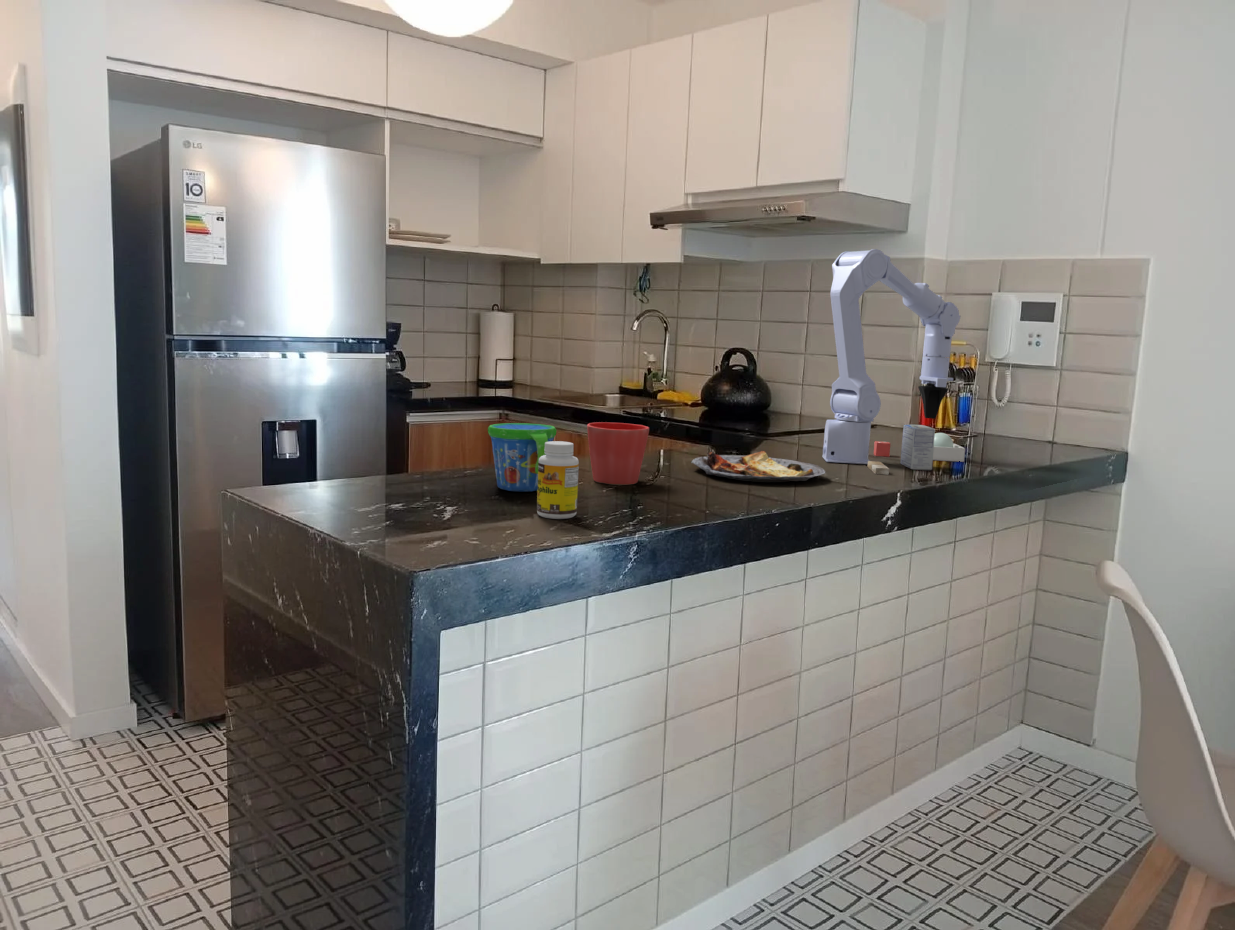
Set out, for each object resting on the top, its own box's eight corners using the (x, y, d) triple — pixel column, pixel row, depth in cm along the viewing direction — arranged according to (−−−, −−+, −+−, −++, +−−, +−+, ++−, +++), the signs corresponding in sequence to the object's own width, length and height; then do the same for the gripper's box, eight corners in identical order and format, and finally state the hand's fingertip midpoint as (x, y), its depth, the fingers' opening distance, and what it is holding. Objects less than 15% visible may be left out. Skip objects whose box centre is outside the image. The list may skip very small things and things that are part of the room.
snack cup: (474, 482, 152) (475, 420, 151) (534, 479, 157) (535, 420, 156) (505, 499, 139) (507, 432, 137) (570, 496, 143) (572, 431, 142)
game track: (875, 473, 181) (876, 467, 181) (867, 466, 191) (867, 461, 190) (888, 474, 181) (889, 468, 181) (879, 467, 190) (880, 461, 190)
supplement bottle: (528, 514, 128) (530, 441, 127) (558, 510, 132) (560, 439, 131) (554, 521, 124) (557, 446, 123) (585, 517, 128) (587, 444, 127)
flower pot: (659, 482, 160) (662, 427, 158) (616, 489, 152) (619, 430, 150) (615, 474, 167) (617, 420, 165) (571, 479, 159) (573, 423, 157)
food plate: (674, 464, 182) (675, 446, 181) (779, 464, 189) (781, 447, 189) (727, 490, 159) (729, 470, 158) (845, 489, 166) (847, 470, 165)
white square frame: (923, 459, 206) (924, 446, 206) (914, 454, 215) (916, 441, 214) (963, 461, 205) (965, 448, 205) (953, 456, 214) (955, 443, 214)
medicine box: (932, 470, 189) (936, 428, 188) (910, 469, 189) (914, 427, 188) (920, 465, 197) (924, 424, 196) (899, 464, 197) (903, 423, 196)
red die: (875, 455, 209) (876, 442, 209) (873, 454, 212) (874, 440, 212) (889, 456, 209) (890, 443, 208) (886, 454, 212) (888, 441, 211)
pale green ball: (929, 458, 208) (931, 433, 207) (923, 454, 213) (925, 430, 212) (954, 459, 207) (957, 434, 206) (948, 456, 213) (950, 432, 212)
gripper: (963, 358, 196) (957, 422, 198) (946, 357, 211) (940, 416, 213) (929, 356, 197) (923, 420, 199) (914, 355, 211) (909, 414, 213)
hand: (930, 418), depth 206 cm, fingers closed
